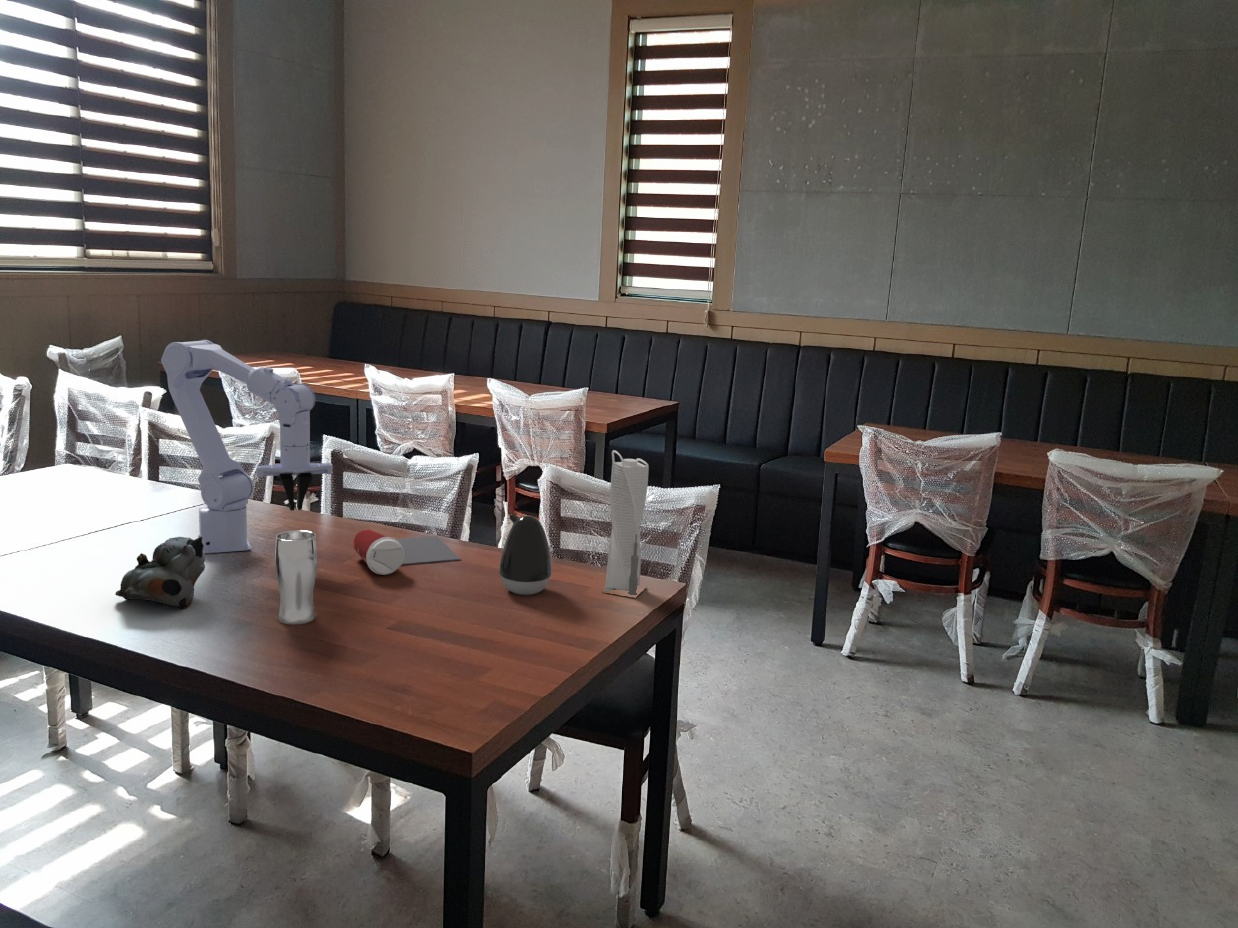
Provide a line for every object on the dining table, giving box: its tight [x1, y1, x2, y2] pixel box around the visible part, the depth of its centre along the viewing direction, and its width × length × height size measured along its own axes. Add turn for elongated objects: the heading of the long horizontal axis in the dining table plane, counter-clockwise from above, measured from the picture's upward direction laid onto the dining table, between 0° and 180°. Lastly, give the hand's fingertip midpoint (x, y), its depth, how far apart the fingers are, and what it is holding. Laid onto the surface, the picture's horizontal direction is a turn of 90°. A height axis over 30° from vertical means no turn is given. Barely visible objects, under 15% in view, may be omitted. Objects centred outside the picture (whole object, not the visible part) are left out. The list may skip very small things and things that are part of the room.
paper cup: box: [352, 529, 405, 576], centre depth 193 cm, size 8×8×14 cm
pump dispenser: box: [498, 513, 553, 596], centre depth 183 cm, size 10×10×15 cm
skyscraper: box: [601, 449, 650, 595], centre depth 186 cm, size 8×8×28 cm
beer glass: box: [274, 529, 318, 626], centre depth 162 cm, size 7×7×15 cm
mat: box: [395, 535, 462, 566], centre depth 205 cm, size 18×18×1 cm
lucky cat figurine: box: [114, 536, 206, 609], centre depth 167 cm, size 15×12×14 cm
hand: (295, 509), depth 194 cm, fingers closed
